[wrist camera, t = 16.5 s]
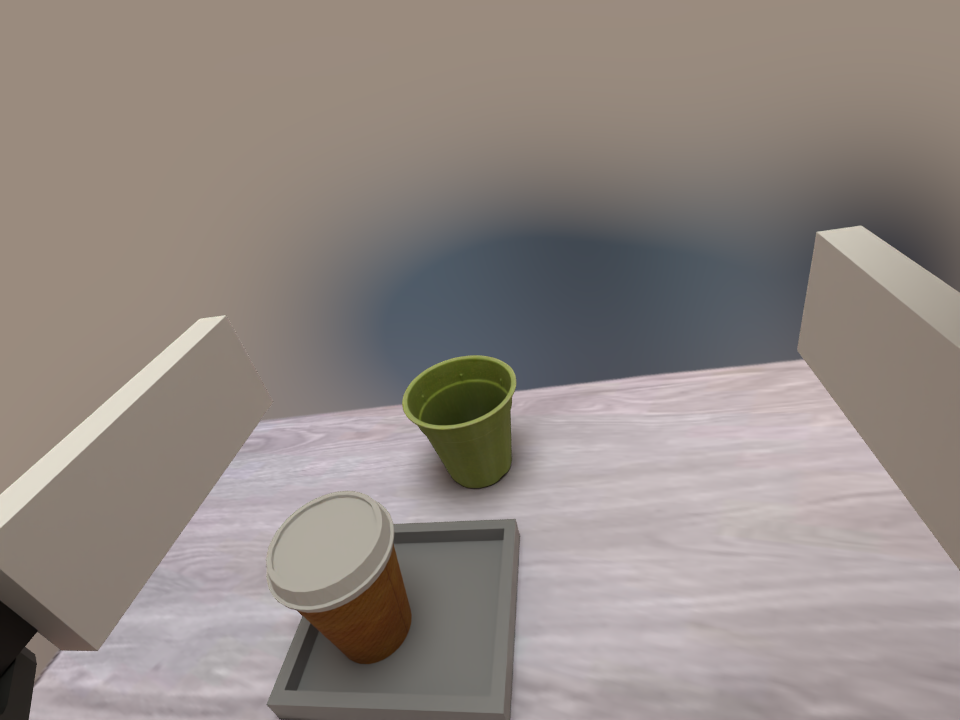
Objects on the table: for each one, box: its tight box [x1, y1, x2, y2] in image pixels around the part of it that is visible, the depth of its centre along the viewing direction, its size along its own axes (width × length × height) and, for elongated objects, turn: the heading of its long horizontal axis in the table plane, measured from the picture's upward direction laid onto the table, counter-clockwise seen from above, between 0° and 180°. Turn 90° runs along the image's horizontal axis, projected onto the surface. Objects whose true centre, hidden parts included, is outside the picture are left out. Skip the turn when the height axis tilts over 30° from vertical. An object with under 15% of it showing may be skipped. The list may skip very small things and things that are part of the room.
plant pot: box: [402, 355, 516, 488], centre depth 54 cm, size 12×12×11 cm
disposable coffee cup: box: [266, 491, 412, 664], centre depth 40 cm, size 10×10×12 cm
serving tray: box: [267, 519, 520, 720], centre depth 43 cm, size 18×16×2 cm
